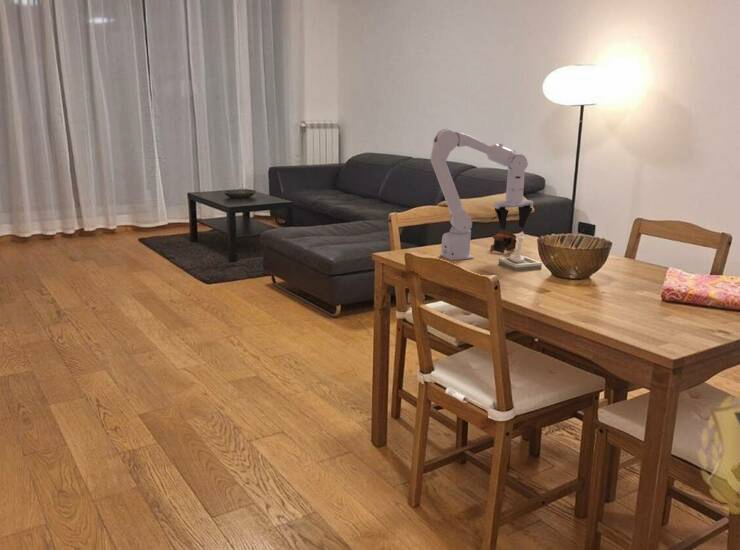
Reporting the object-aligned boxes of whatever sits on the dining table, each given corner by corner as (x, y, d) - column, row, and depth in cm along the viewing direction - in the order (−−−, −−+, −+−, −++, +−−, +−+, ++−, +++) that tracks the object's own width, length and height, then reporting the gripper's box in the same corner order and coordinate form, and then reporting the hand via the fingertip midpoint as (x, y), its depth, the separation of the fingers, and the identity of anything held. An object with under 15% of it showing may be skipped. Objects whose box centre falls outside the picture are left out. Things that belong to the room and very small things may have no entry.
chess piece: (518, 263, 217) (523, 235, 212) (506, 258, 220) (511, 230, 215) (527, 260, 220) (533, 233, 215) (515, 255, 223) (520, 228, 218)
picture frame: (515, 271, 212) (515, 265, 211) (498, 263, 220) (499, 258, 220) (541, 268, 215) (541, 262, 215) (523, 261, 224) (524, 255, 224)
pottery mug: (483, 250, 241) (489, 230, 243) (502, 260, 245) (508, 239, 247) (503, 249, 231) (510, 227, 232) (523, 259, 235) (530, 237, 236)
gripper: (503, 191, 217) (500, 231, 221) (539, 189, 223) (536, 228, 226) (491, 188, 224) (489, 227, 227) (527, 186, 229) (524, 225, 233)
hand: (512, 228), depth 227 cm, fingers open, 7 cm apart
